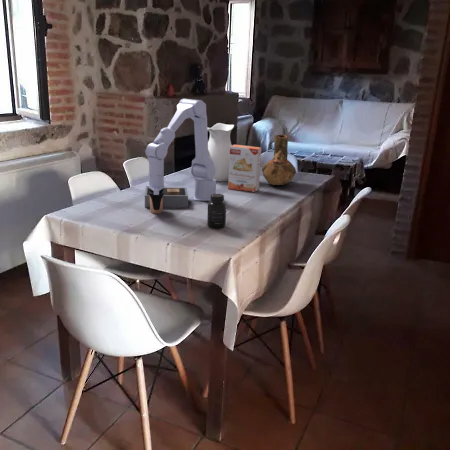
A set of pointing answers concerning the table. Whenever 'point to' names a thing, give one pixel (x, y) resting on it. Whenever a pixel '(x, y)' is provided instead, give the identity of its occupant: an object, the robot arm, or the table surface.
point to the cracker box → (244, 168)
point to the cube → (172, 191)
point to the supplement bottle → (216, 212)
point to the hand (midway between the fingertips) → (156, 207)
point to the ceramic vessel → (279, 164)
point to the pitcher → (220, 149)
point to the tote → (170, 198)
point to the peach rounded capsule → (156, 210)
